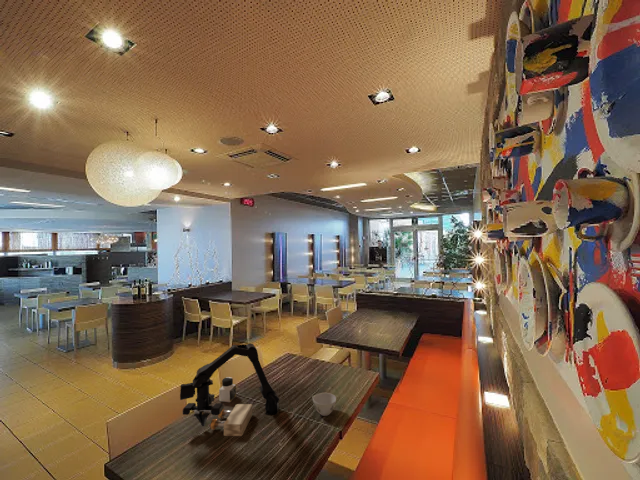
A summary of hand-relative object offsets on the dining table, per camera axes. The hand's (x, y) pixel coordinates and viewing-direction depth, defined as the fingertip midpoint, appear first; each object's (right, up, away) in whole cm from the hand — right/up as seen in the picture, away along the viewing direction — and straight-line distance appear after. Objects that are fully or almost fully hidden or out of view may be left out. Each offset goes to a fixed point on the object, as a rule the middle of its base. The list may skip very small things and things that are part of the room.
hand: (203, 425), depth 140 cm
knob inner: (+10, -1, +8) cm, 13 cm away
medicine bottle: (+3, -3, +28) cm, 29 cm away
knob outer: (+10, -1, -1) cm, 10 cm away
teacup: (+60, -1, +13) cm, 61 cm away
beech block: (+16, -2, +3) cm, 17 cm away
